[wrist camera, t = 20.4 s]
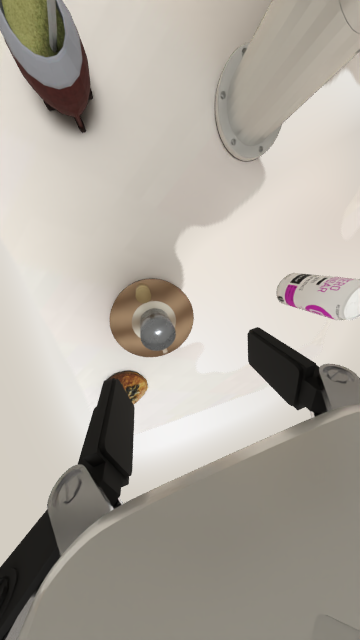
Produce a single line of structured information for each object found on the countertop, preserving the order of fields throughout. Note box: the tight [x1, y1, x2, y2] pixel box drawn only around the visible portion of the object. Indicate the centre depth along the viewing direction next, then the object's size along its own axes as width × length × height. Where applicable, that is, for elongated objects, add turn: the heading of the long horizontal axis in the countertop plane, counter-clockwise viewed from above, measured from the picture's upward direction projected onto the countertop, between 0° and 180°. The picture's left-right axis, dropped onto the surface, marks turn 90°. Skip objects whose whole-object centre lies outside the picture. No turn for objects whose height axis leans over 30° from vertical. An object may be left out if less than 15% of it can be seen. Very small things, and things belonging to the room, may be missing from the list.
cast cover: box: [140, 308, 176, 351], centre depth 28 cm, size 6×6×6 cm
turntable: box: [110, 279, 194, 357], centre depth 30 cm, size 17×17×7 cm
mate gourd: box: [0, 0, 93, 133], centre depth 14 cm, size 8×8×15 cm
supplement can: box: [277, 273, 360, 320], centre depth 35 cm, size 8×8×15 cm
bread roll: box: [109, 371, 148, 404], centre depth 38 cm, size 11×11×5 cm
